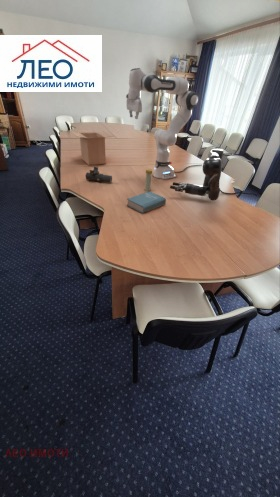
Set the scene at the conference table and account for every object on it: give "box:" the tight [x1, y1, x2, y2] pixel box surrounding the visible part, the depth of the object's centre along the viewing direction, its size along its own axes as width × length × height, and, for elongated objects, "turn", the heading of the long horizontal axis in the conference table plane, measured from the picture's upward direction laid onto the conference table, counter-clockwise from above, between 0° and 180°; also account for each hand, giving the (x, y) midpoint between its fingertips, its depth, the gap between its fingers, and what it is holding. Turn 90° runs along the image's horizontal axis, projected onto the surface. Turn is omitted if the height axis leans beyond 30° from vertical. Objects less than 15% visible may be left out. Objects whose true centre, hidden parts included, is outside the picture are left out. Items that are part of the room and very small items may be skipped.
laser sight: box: [85, 166, 113, 184], centre depth 187 cm, size 10×22×10 cm, turn 78°
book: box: [126, 190, 167, 214], centre depth 156 cm, size 23×16×5 cm
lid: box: [145, 168, 153, 174], centre depth 172 cm, size 5×5×2 cm
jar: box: [144, 172, 153, 192], centre depth 176 cm, size 4×4×16 cm
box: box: [70, 129, 114, 166], centre depth 229 cm, size 44×36×27 cm
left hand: (133, 118), depth 170 cm, fingers open, 8 cm apart
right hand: (171, 185), depth 171 cm, fingers open, 8 cm apart
